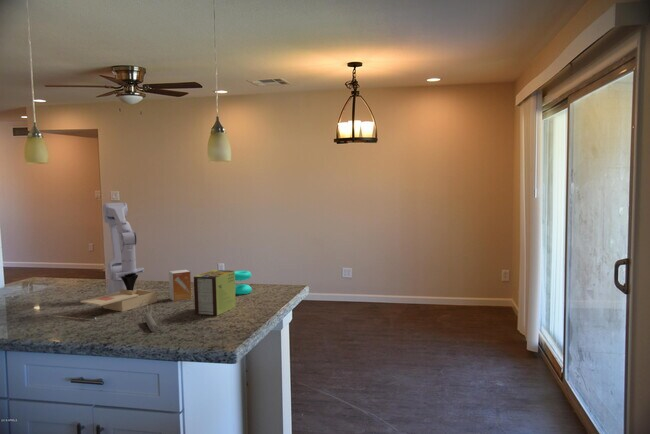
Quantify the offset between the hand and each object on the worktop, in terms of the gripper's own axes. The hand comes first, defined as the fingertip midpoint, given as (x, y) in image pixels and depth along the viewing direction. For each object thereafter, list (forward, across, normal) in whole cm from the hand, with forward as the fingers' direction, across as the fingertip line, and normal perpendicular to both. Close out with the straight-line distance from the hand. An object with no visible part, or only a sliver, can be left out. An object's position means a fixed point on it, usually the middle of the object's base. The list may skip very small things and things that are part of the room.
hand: (130, 291), depth 217 cm
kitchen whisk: (+7, -13, -26) cm, 30 cm away
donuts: (+7, +41, -27) cm, 50 cm away
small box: (+7, +18, -11) cm, 22 cm away
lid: (+1, -10, 0) cm, 10 cm away
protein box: (+7, +11, -38) cm, 40 cm away
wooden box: (+6, 0, 0) cm, 6 cm away
